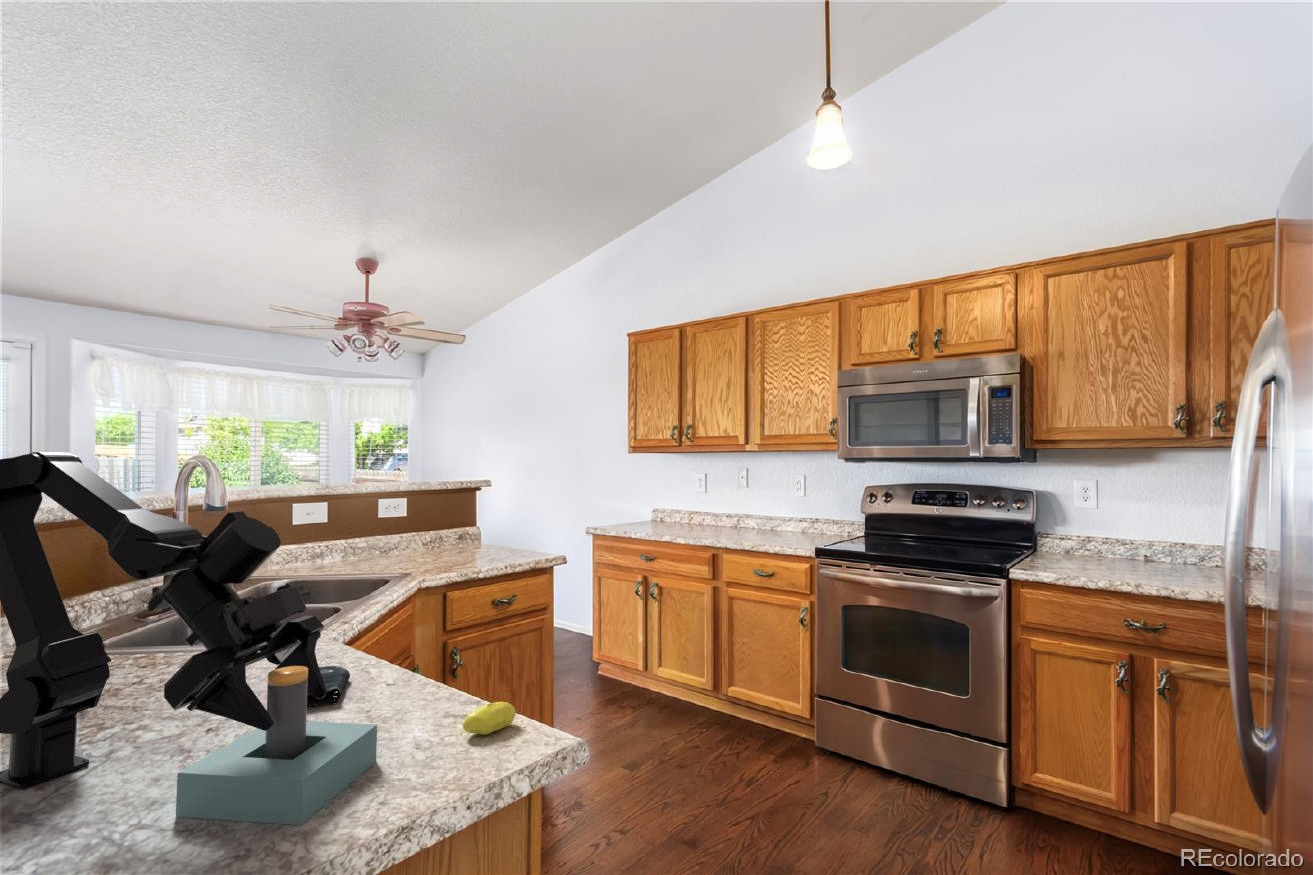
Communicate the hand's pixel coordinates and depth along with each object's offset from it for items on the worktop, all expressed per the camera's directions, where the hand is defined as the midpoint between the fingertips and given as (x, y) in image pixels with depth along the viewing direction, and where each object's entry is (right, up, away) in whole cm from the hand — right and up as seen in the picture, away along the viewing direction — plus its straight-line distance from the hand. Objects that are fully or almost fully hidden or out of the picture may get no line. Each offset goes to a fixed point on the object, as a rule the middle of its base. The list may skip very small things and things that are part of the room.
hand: (298, 711), depth 72 cm
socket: (-1, -9, 0) cm, 9 cm away
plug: (-1, -9, 0) cm, 9 cm away
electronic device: (-14, -11, +30) cm, 35 cm away
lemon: (+18, -10, +15) cm, 25 cm away
